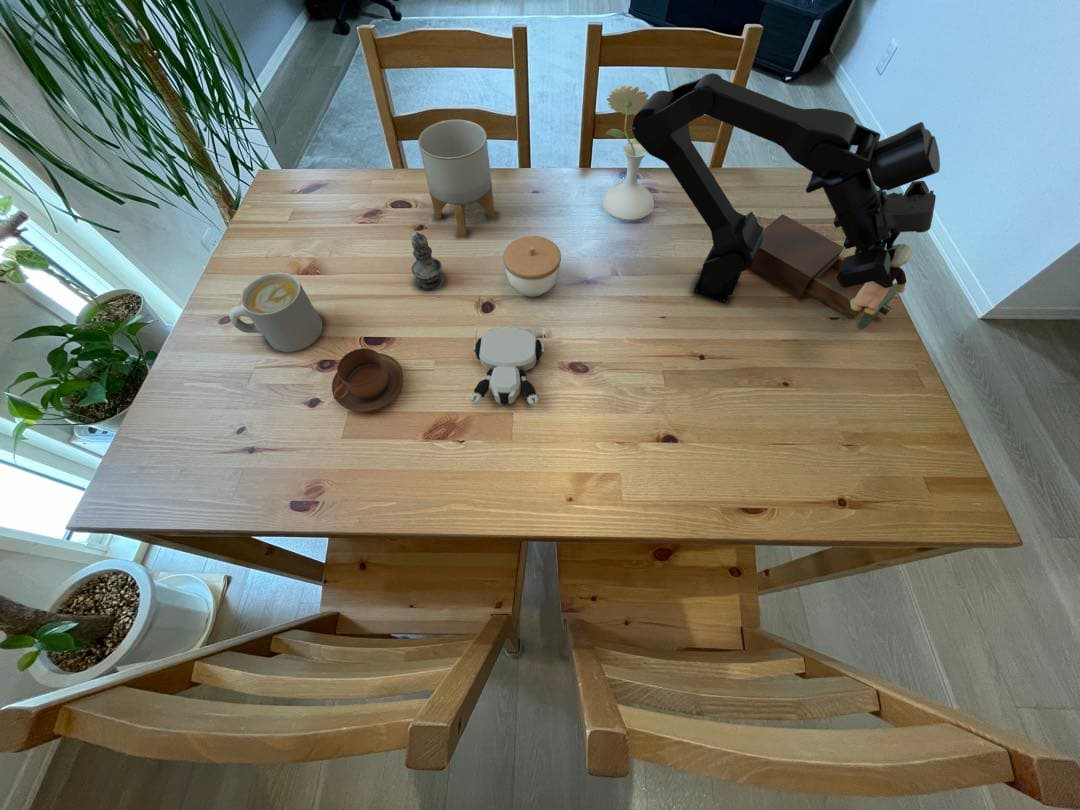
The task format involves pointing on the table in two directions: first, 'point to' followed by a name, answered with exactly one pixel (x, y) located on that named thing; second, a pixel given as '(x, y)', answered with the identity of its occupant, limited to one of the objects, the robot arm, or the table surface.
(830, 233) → the table surface
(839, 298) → the drawer
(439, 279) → the stone statuette
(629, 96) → the flower in vase
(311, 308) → the coffee mug
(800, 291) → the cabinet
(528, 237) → the trinket box
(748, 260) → the robot arm
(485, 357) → the robot toy
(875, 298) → the grandmother figurine
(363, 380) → the cup and saucer
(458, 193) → the planter
